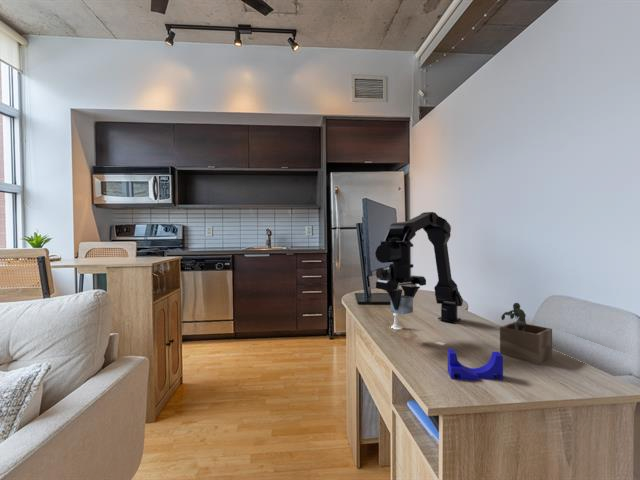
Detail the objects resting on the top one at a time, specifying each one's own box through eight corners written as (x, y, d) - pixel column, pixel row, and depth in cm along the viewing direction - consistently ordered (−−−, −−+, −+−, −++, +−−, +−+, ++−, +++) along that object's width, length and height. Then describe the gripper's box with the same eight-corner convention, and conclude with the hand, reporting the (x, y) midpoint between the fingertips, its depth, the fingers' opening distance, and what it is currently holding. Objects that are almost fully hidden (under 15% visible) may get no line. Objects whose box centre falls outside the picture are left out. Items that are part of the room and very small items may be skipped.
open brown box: (515, 347, 102) (515, 321, 102) (552, 356, 94) (552, 328, 94) (500, 354, 96) (499, 327, 96) (538, 365, 88) (538, 335, 88)
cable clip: (451, 380, 80) (451, 355, 80) (447, 372, 84) (447, 349, 84) (505, 383, 78) (505, 358, 78) (498, 375, 82) (498, 351, 82)
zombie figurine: (516, 355, 100) (513, 305, 105) (533, 355, 93) (529, 302, 98) (500, 352, 99) (498, 302, 104) (516, 352, 93) (513, 299, 98)
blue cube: (400, 309, 112) (400, 294, 112) (412, 312, 108) (412, 297, 108) (390, 311, 109) (390, 296, 109) (402, 314, 105) (402, 298, 105)
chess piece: (387, 327, 125) (387, 301, 125) (400, 327, 126) (400, 301, 126) (391, 331, 120) (391, 304, 120) (404, 331, 121) (404, 303, 121)
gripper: (400, 258, 120) (400, 301, 120) (363, 261, 109) (363, 308, 109) (426, 260, 111) (427, 306, 111) (389, 263, 100) (389, 314, 100)
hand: (401, 308), depth 108 cm, fingers closed on blue cube, 5 cm apart
